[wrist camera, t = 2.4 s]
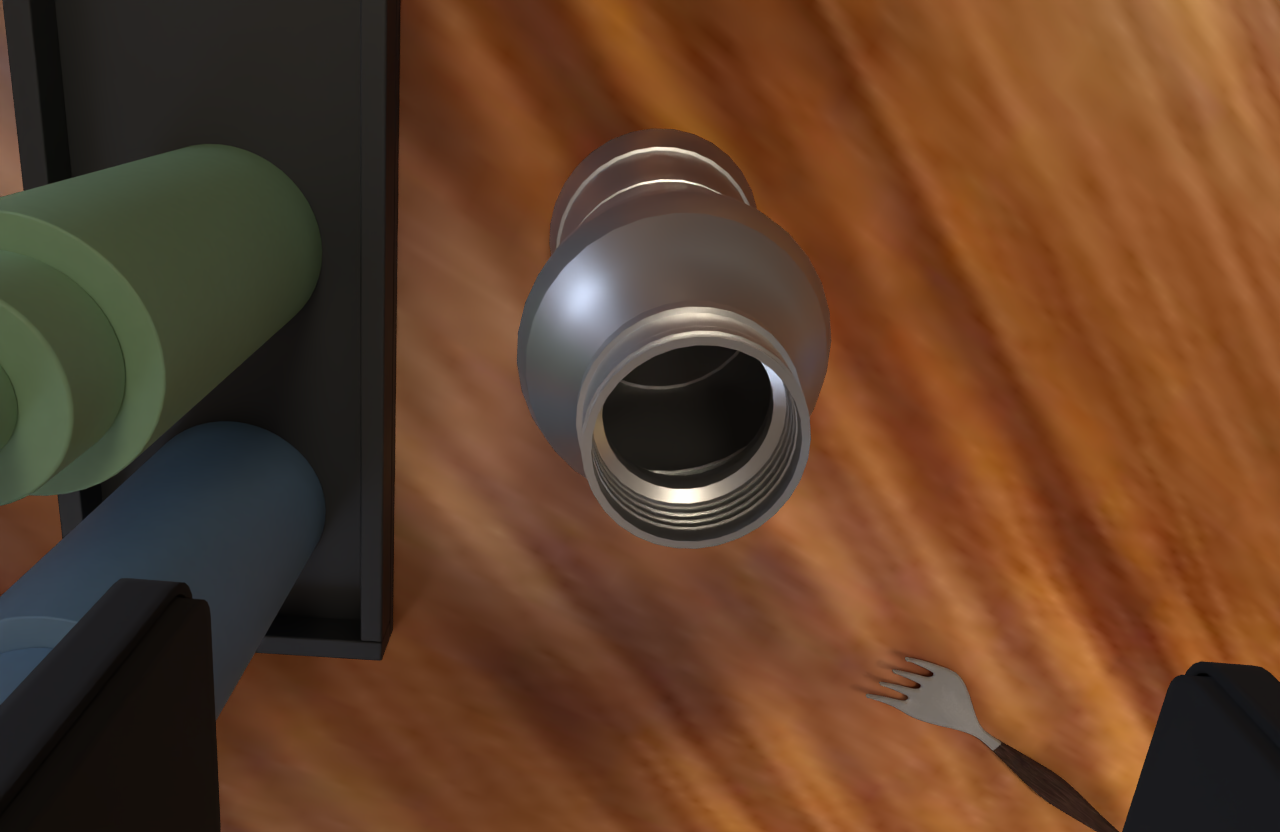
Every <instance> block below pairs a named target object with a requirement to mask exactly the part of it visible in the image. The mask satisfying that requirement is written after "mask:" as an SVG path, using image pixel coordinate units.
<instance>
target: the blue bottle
mask: <svg viewBox="0 0 1280 832" xmlns="http://www.w3.org/2000/svg"><path fill="white" fill-rule="evenodd" d="M325 515H326V507H325V498H324V494H323V490H322V487H321V484H320V482H319V479H318V477H317V475H316V474H315V472H314V470H313V468H312V467H311V465H310V464H309V463H308V461H307V460H306V459H305V458H304V457H303V455H302V454H301V453H300V452H299V451H298V450H297V449H295V448H294V447H293V446H292V445H291V444H290V443H288V442H287V441H285V440H284V439H282V438H281V437H279V436H278V435H276V434H274V433H272V432H270V431H268V430H265V429H263V428H260V427H257V426H254V425H250V424H246V423H240V422H231V421H219V422H209V423H205V424H201V425H197V426H194V427H191V428H189V429H186V430H185V431H183V432H181V433H179V434H177V435H176V436H175V437H173V438H172V439H171V440H169V441H168V442H167V443H166V444H165V445H164V446H163V447H162V448H160V449H159V450H158V451H157V452H156V453H155V454H154V455H153V456H152V457H151V458H150V459H149V460H148V461H146V462H145V463H144V464H143V465H142V466H141V467H140V468H139V469H138V470H137V471H136V472H135V473H133V474H132V475H131V476H130V477H129V478H128V479H127V480H126V481H125V482H124V483H123V484H122V485H121V486H119V487H118V488H117V489H116V490H115V491H114V492H113V493H112V494H111V495H110V496H109V497H108V498H106V499H105V500H104V501H103V502H102V503H101V504H100V505H99V506H98V507H97V508H96V509H95V510H93V511H92V512H91V513H90V514H89V515H88V516H87V517H86V518H85V519H84V520H83V521H82V522H81V523H79V524H78V525H77V526H76V527H75V528H74V529H73V530H72V531H71V532H70V533H69V534H68V535H66V536H65V537H64V538H63V539H62V540H61V541H60V542H59V543H58V544H57V545H56V546H55V547H53V548H52V549H51V550H50V551H49V552H48V553H47V554H46V555H45V556H44V557H43V558H42V559H41V560H39V561H38V562H37V563H36V564H35V565H34V566H33V567H32V568H31V569H30V570H29V571H28V572H26V573H25V574H24V575H23V576H22V577H21V578H20V579H19V580H18V581H17V582H16V583H15V584H13V585H12V586H11V587H10V588H9V589H8V590H7V591H6V592H5V593H4V594H3V595H2V596H1V597H0V705H1V704H2V703H3V702H4V701H5V699H6V698H7V697H8V696H9V695H10V694H11V693H12V692H13V691H14V690H15V689H16V688H17V687H18V686H19V685H20V683H21V682H22V681H23V680H24V679H25V678H26V677H27V676H28V675H29V674H30V673H31V672H32V671H33V670H34V668H35V667H36V666H37V665H38V664H39V663H40V662H41V661H42V660H43V659H44V658H45V657H46V656H47V655H48V653H49V652H50V651H51V650H52V649H53V648H54V647H55V646H56V645H57V644H58V643H59V642H60V641H61V640H62V639H63V637H64V636H65V635H66V634H67V633H68V632H69V631H70V630H71V629H72V628H73V627H74V626H75V625H76V624H77V622H78V621H79V620H80V619H81V618H82V617H83V616H84V615H85V614H86V613H87V612H88V611H89V610H90V609H91V608H92V606H93V605H94V604H95V603H96V602H97V601H98V600H99V599H100V598H101V597H102V596H103V595H104V594H105V593H106V591H107V590H108V589H109V588H110V587H111V586H112V585H113V584H114V583H115V582H117V581H118V580H119V579H121V578H134V579H147V580H160V581H173V582H185V583H186V584H187V585H188V586H189V588H190V590H191V593H192V598H193V599H205V600H206V601H207V602H208V605H209V607H210V614H211V631H212V652H213V674H214V696H215V717H216V720H217V718H218V716H219V715H220V713H221V711H222V709H223V708H224V706H225V704H226V702H227V701H228V699H229V697H230V695H231V694H232V692H233V690H234V688H235V687H236V685H237V683H238V681H239V680H240V678H241V676H242V674H243V673H244V671H245V669H246V667H247V666H248V664H249V662H250V660H251V659H252V657H253V655H254V654H255V652H256V650H257V648H258V647H259V645H260V643H261V641H262V640H263V638H264V636H265V634H266V633H267V631H268V629H269V627H270V626H271V624H272V622H273V620H274V619H275V617H276V615H277V613H278V612H279V610H280V608H281V606H282V605H283V603H284V601H285V599H286V598H287V596H288V594H289V592H290V591H291V589H292V587H293V585H294V584H295V582H296V580H297V578H298V577H299V575H300V573H301V571H302V570H303V568H304V566H305V565H306V563H307V561H308V559H309V558H310V556H311V554H312V552H313V551H314V549H315V547H316V545H317V543H318V542H319V540H320V537H321V535H322V532H323V528H324V524H325Z"/></svg>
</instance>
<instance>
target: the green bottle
mask: <svg viewBox="0 0 1280 832" xmlns="http://www.w3.org/2000/svg"><path fill="white" fill-rule="evenodd" d="M321 265H322V243H321V236H320V231H319V227H318V224H317V221H316V218H315V215H314V213H313V211H312V209H311V207H310V205H309V203H308V201H307V200H306V198H305V197H304V195H303V194H302V192H301V191H300V189H299V188H298V187H297V186H296V185H295V183H294V182H293V181H292V180H291V179H290V178H289V177H288V176H287V175H286V174H285V173H284V172H283V171H281V170H280V169H279V168H277V167H276V166H275V165H273V164H272V163H271V162H269V161H267V160H266V159H264V158H262V157H260V156H259V155H256V154H254V153H252V152H249V151H247V150H244V149H240V148H237V147H233V146H228V145H221V144H201V145H192V146H189V147H185V148H181V149H177V150H173V151H170V152H166V153H162V154H159V155H155V156H151V157H147V158H144V159H140V160H136V161H133V162H129V163H125V164H122V165H118V166H114V167H111V168H107V169H103V170H99V171H96V172H92V173H88V174H85V175H81V176H77V177H74V178H70V179H66V180H63V181H59V182H55V183H51V184H48V185H44V186H40V187H37V188H33V189H29V190H26V191H22V192H18V193H14V194H11V195H7V196H3V197H0V506H1V505H5V504H9V503H12V502H15V501H17V500H20V499H22V498H24V497H26V496H28V495H43V496H48V495H58V494H67V493H71V492H75V491H80V490H84V489H87V488H89V487H92V486H95V485H97V484H100V483H102V482H104V481H106V480H107V479H109V478H111V477H113V476H115V475H116V474H118V473H119V472H120V471H122V470H123V469H124V468H125V467H127V466H128V465H129V464H131V463H132V462H133V461H134V460H135V459H136V458H137V457H138V456H139V455H141V454H142V453H143V452H144V451H145V450H146V449H147V448H148V447H149V446H151V445H152V444H153V443H154V442H155V441H156V440H157V439H158V438H159V437H161V436H162V435H163V434H164V433H165V432H166V431H167V430H168V429H170V428H171V427H172V426H173V425H174V424H175V423H176V422H177V421H178V420H180V419H181V418H182V417H183V416H184V415H185V414H186V413H187V412H188V411H190V410H191V409H192V408H193V407H194V406H195V405H196V404H197V403H198V402H200V401H201V400H202V399H203V398H204V397H205V396H206V395H207V394H208V393H210V392H211V391H212V390H213V389H214V388H215V387H216V386H217V385H218V384H220V383H221V382H222V381H223V380H224V379H225V378H226V377H227V376H228V375H230V374H231V373H232V372H233V371H234V370H235V369H236V368H237V367H238V366H240V365H241V364H242V363H243V362H244V361H245V360H246V359H247V358H249V357H250V356H251V355H252V354H253V353H254V352H255V351H256V350H257V349H259V348H260V347H261V346H262V345H263V344H264V343H265V342H266V341H267V340H269V339H270V338H271V337H272V336H273V335H274V334H275V333H276V332H277V331H279V330H280V329H281V328H282V327H283V326H284V325H285V324H286V323H287V322H289V321H290V320H291V319H292V318H293V317H294V316H295V315H296V314H297V313H298V312H299V311H300V310H301V309H302V308H303V307H304V305H305V304H306V303H307V301H308V300H309V298H310V297H311V295H312V293H313V291H314V289H315V287H316V284H317V281H318V278H319V275H320V270H321Z"/></svg>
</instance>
